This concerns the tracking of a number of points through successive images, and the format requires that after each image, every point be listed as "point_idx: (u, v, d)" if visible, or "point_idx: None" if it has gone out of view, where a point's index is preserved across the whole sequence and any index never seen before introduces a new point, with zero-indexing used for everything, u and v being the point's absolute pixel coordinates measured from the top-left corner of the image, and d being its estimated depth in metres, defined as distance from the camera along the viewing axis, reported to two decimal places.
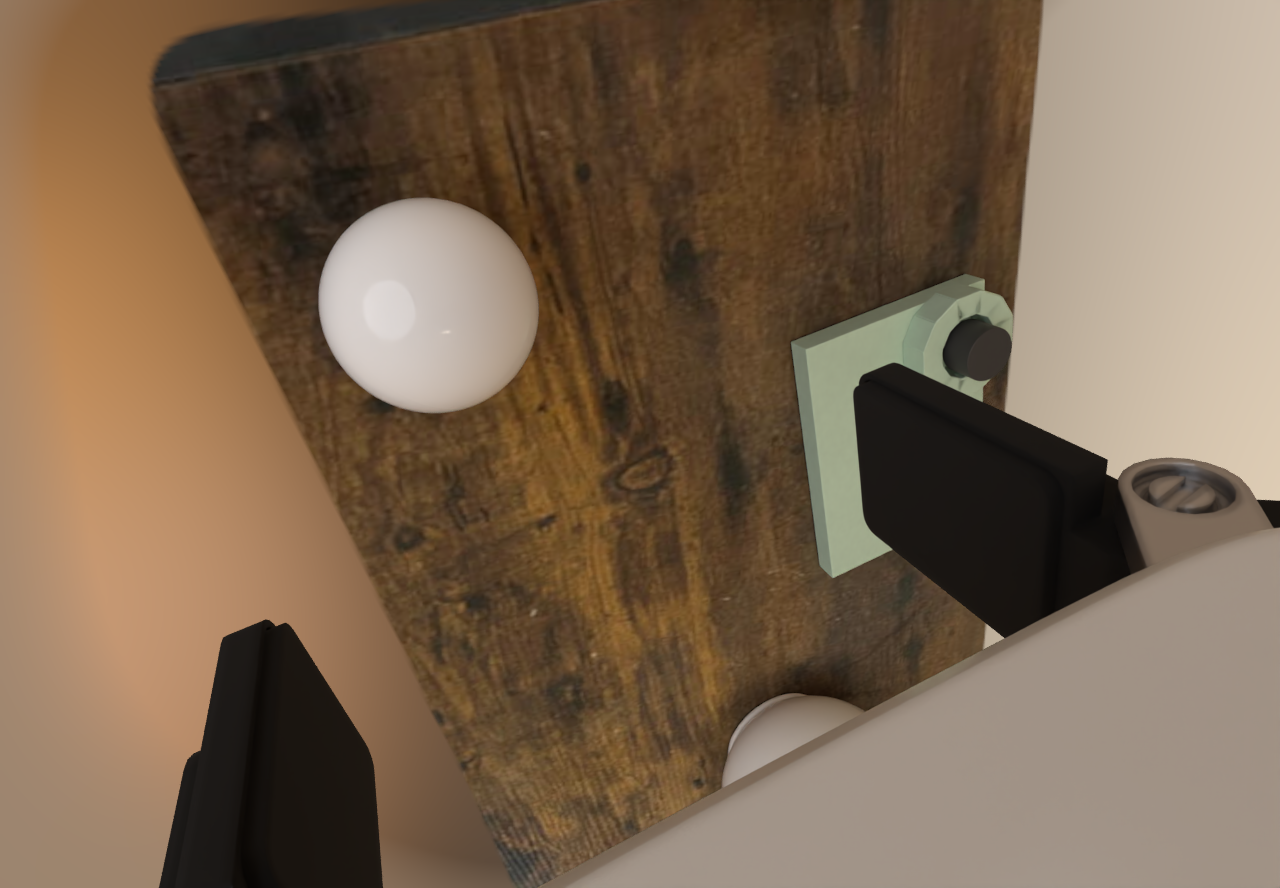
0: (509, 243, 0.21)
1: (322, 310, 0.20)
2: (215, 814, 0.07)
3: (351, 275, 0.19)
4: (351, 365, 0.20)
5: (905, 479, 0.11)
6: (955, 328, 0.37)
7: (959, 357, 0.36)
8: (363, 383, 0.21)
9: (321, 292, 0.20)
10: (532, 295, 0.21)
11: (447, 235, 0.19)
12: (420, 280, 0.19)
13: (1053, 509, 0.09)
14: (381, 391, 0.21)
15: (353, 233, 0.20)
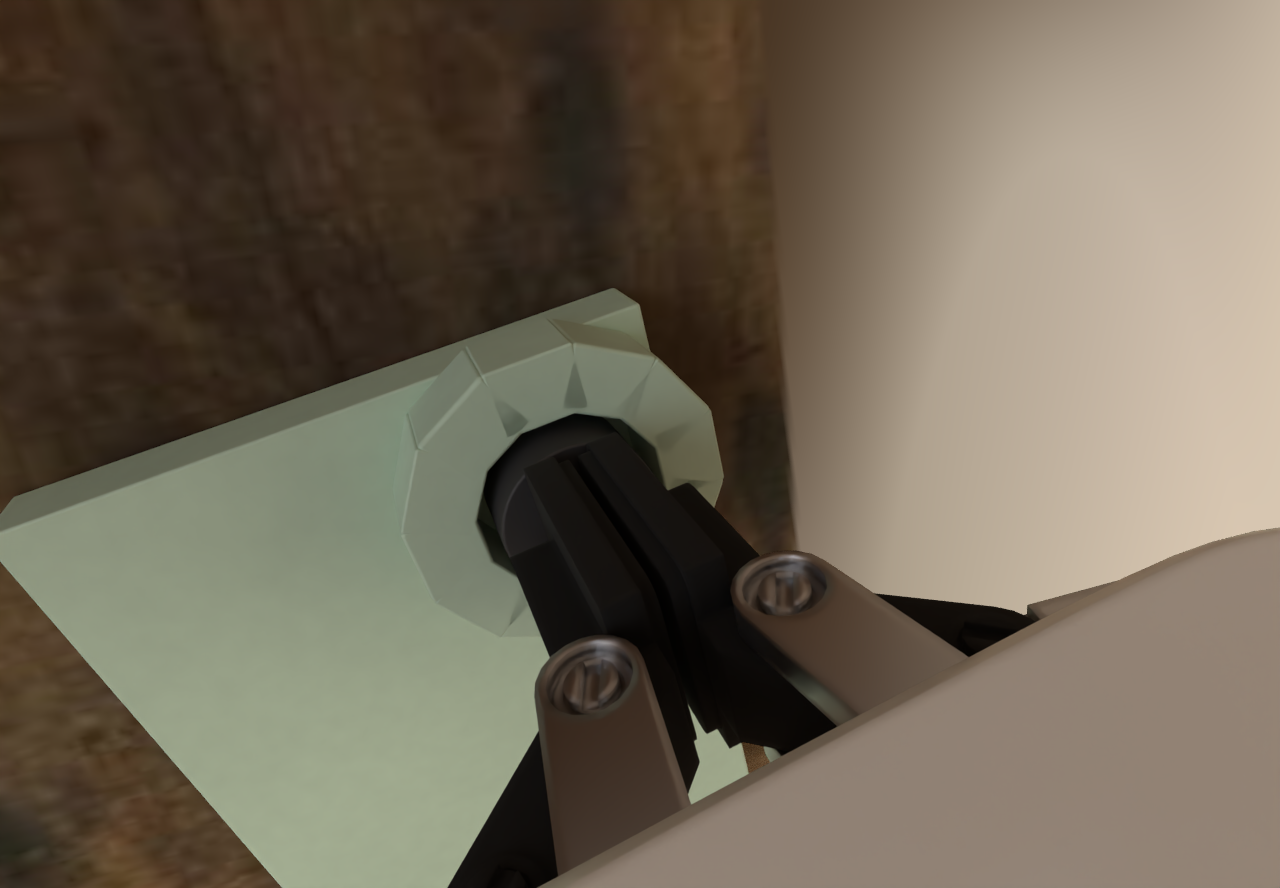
0: None
1: None
2: (598, 559, 0.09)
3: None
4: None
5: None
6: None
7: (496, 525, 0.12)
8: None
9: None
10: None
11: None
12: None
13: (680, 600, 0.09)
14: None
15: None
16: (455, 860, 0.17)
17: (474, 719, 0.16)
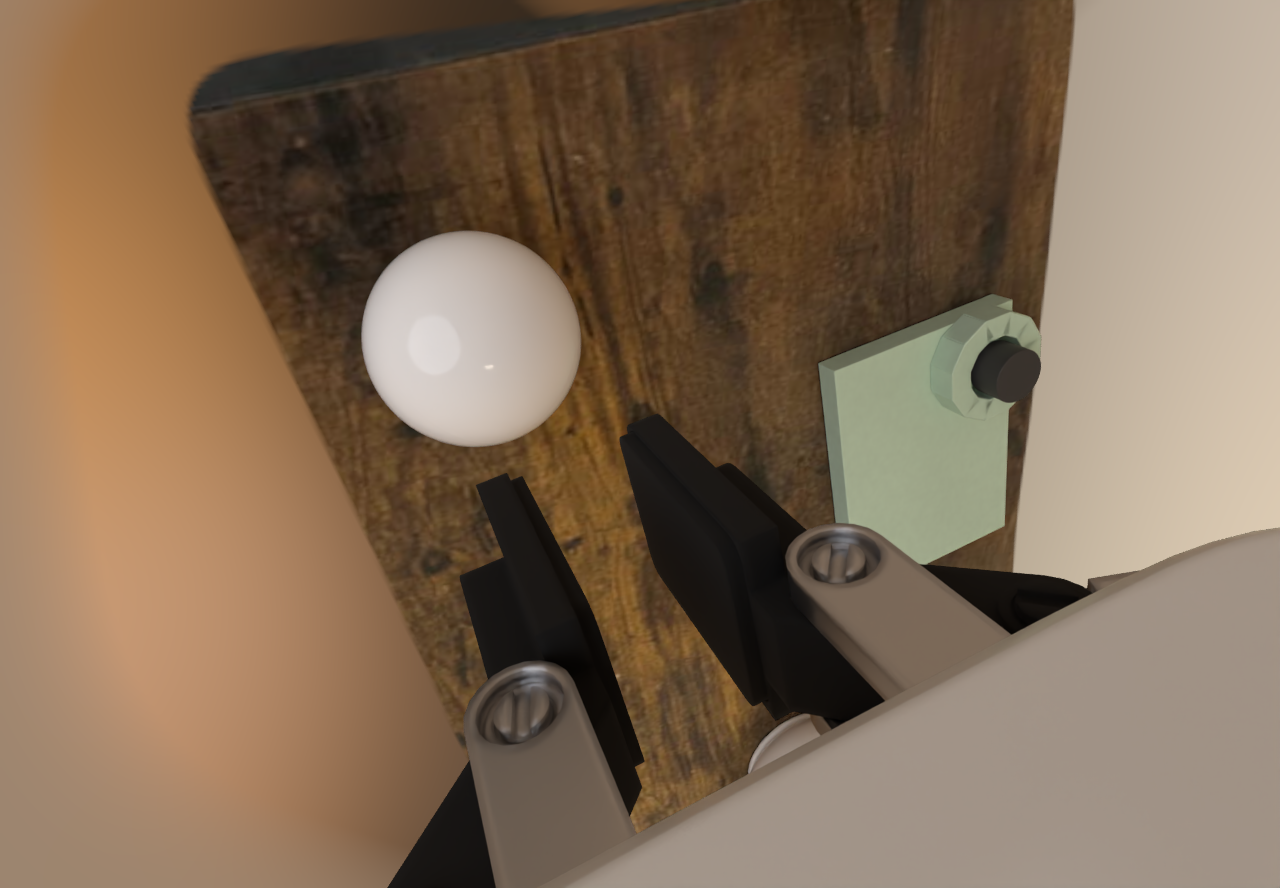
0: (554, 277, 0.21)
1: (366, 346, 0.20)
2: (539, 582, 0.09)
3: (398, 312, 0.19)
4: (396, 401, 0.20)
5: (661, 529, 0.11)
6: (983, 349, 0.37)
7: (988, 379, 0.36)
8: (407, 419, 0.20)
9: (365, 327, 0.20)
10: (576, 330, 0.21)
11: (495, 271, 0.19)
12: (469, 317, 0.19)
13: (733, 572, 0.09)
14: (425, 426, 0.20)
15: (399, 269, 0.20)
16: (900, 532, 0.42)
17: (924, 463, 0.40)
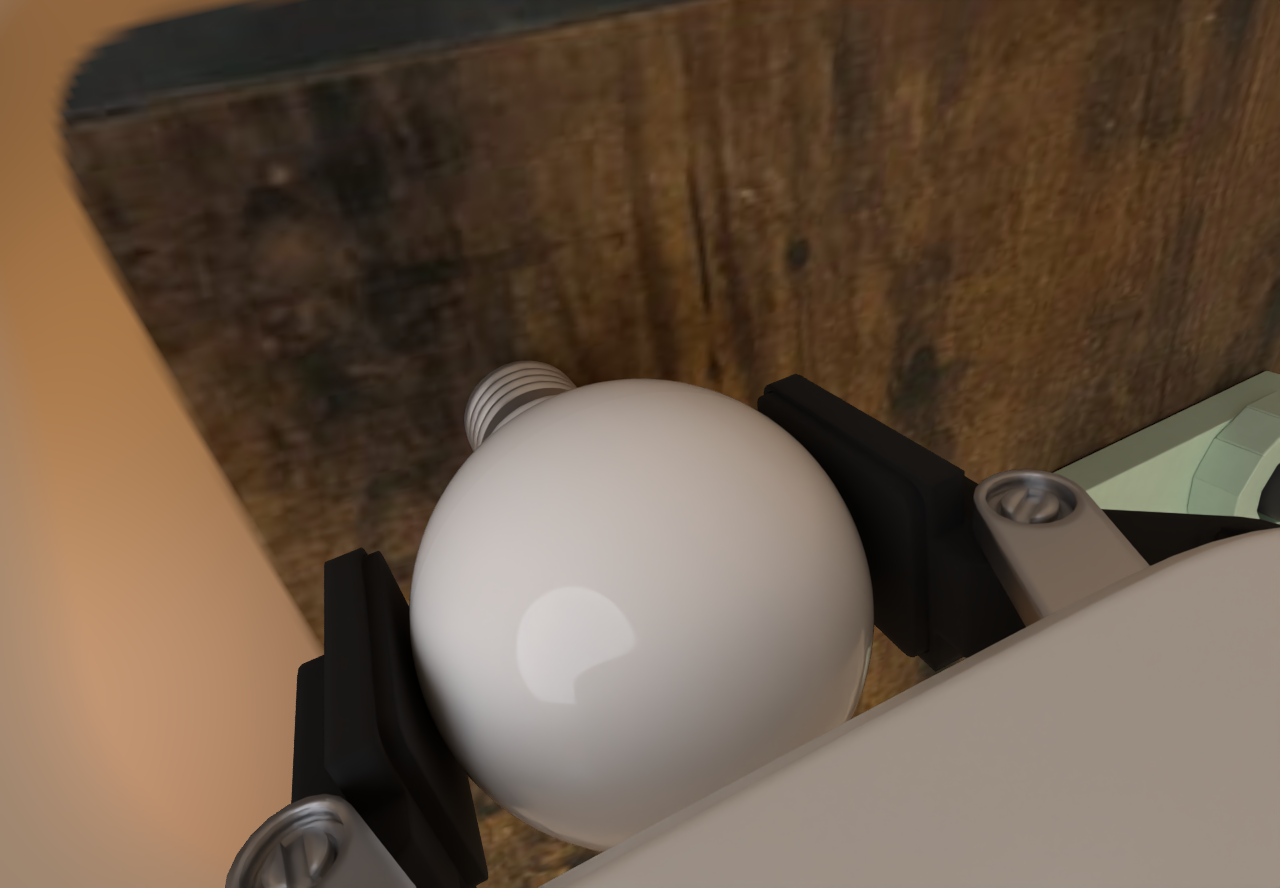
0: (834, 488, 0.09)
1: (427, 670, 0.09)
2: (349, 694, 0.08)
3: (515, 628, 0.08)
4: (495, 796, 0.09)
5: None
6: None
7: None
8: (514, 815, 0.09)
9: (424, 628, 0.09)
10: None
11: (747, 516, 0.08)
12: (699, 652, 0.07)
13: (916, 518, 0.09)
14: (557, 837, 0.09)
15: (507, 500, 0.08)
16: None
17: None
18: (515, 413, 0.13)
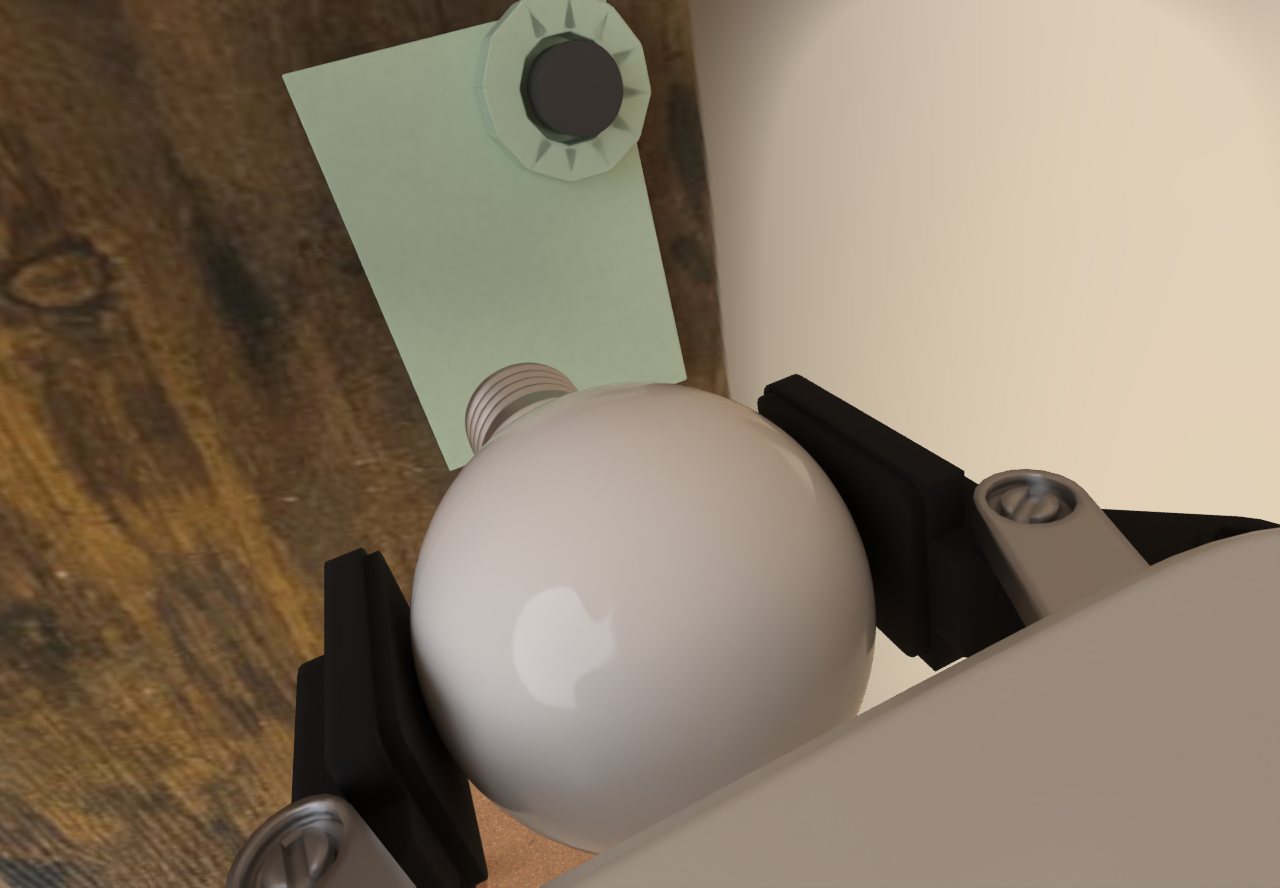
0: (836, 491, 0.09)
1: (428, 675, 0.09)
2: (349, 694, 0.08)
3: (516, 634, 0.08)
4: (497, 800, 0.09)
5: None
6: (539, 55, 0.24)
7: (536, 94, 0.23)
8: None
9: (425, 633, 0.09)
10: None
11: (748, 520, 0.08)
12: (701, 657, 0.07)
13: (916, 518, 0.09)
14: (558, 841, 0.09)
15: (508, 504, 0.08)
16: None
17: (513, 262, 0.28)
18: (516, 415, 0.13)
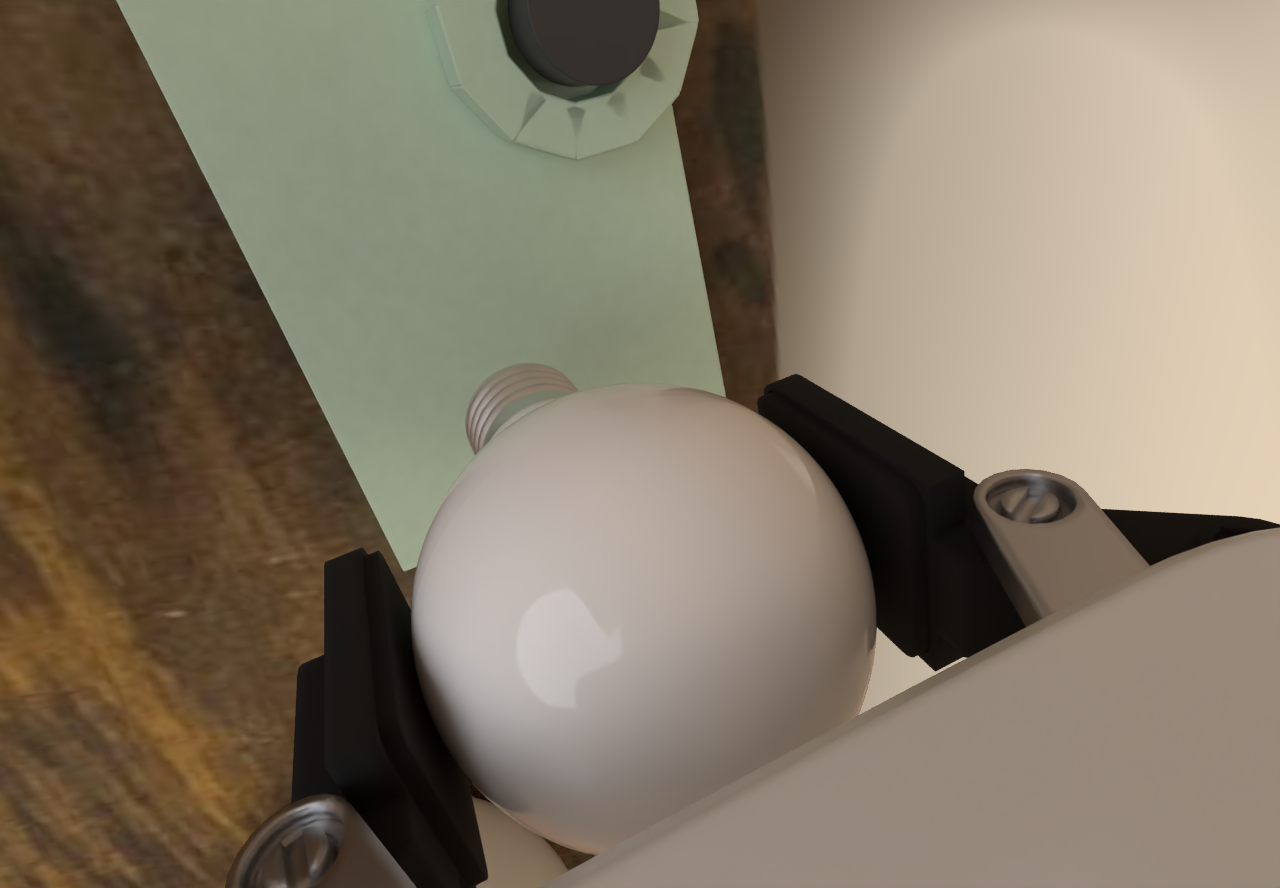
0: (837, 491, 0.09)
1: (429, 675, 0.09)
2: (349, 694, 0.08)
3: (517, 634, 0.08)
4: (497, 801, 0.09)
5: None
6: None
7: (521, 15, 0.14)
8: None
9: (426, 633, 0.09)
10: None
11: (749, 520, 0.08)
12: (702, 659, 0.07)
13: (915, 518, 0.09)
14: (558, 843, 0.09)
15: (509, 506, 0.08)
16: None
17: (490, 279, 0.19)
18: (516, 416, 0.13)
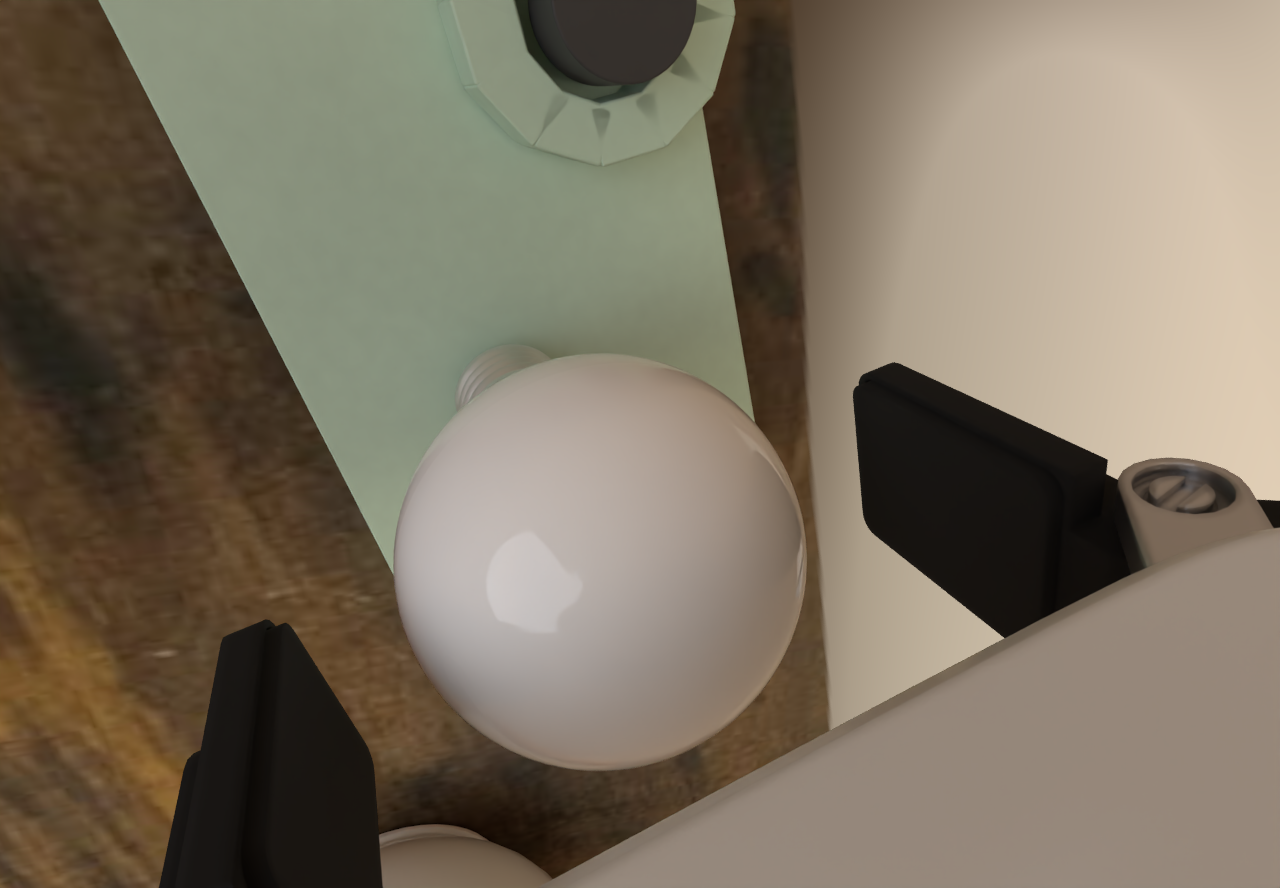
0: (771, 450, 0.11)
1: (406, 603, 0.10)
2: (215, 814, 0.07)
3: (479, 560, 0.09)
4: (466, 715, 0.10)
5: (905, 479, 0.11)
6: None
7: (543, 6, 0.13)
8: (484, 735, 0.10)
9: (404, 567, 0.10)
10: (805, 544, 0.11)
11: (681, 466, 0.09)
12: (635, 581, 0.09)
13: (1053, 509, 0.09)
14: (520, 754, 0.10)
15: (475, 454, 0.09)
16: None
17: (505, 295, 0.17)
18: None
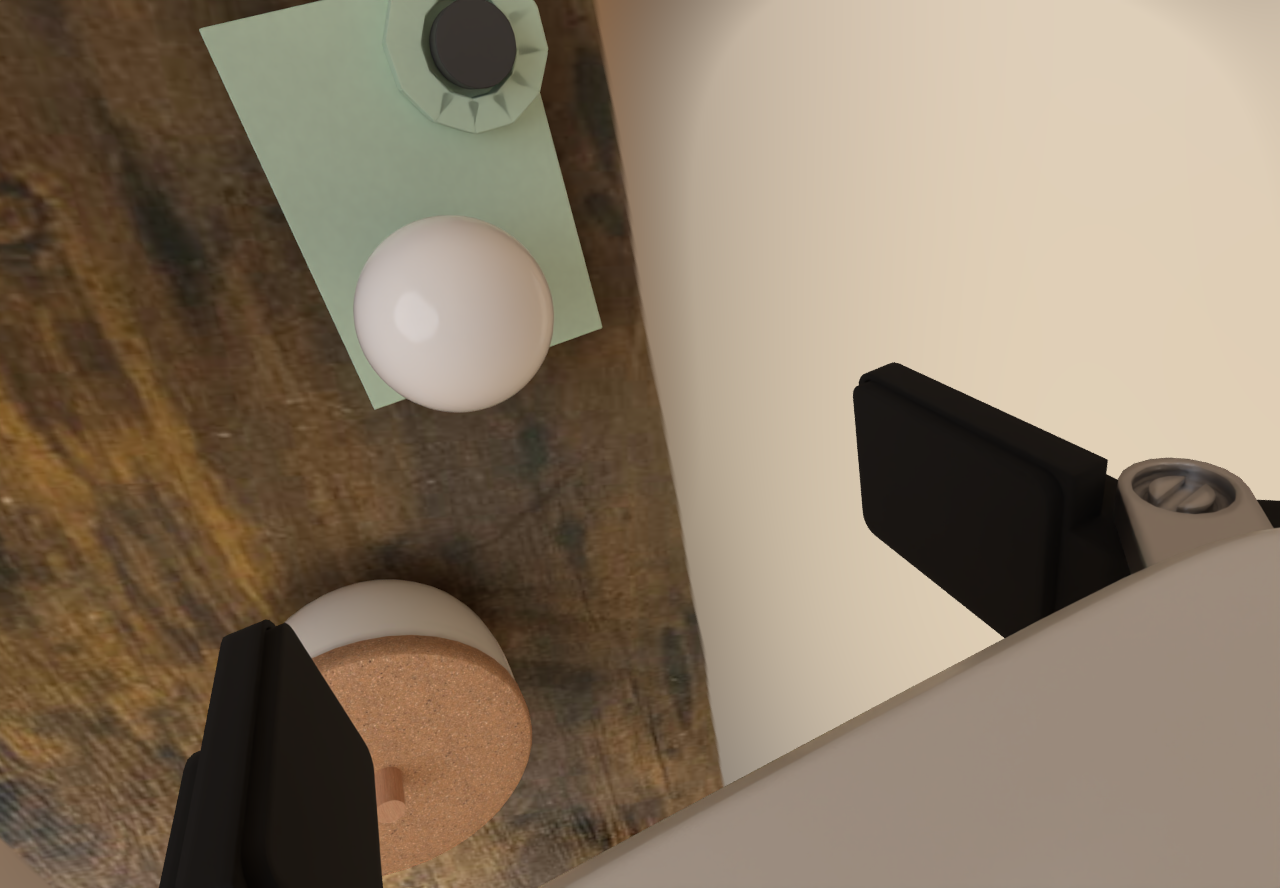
0: (528, 257, 0.23)
1: (357, 318, 0.22)
2: (215, 814, 0.07)
3: (385, 286, 0.21)
4: (384, 368, 0.22)
5: (905, 479, 0.11)
6: (439, 13, 0.26)
7: (434, 48, 0.25)
8: (394, 384, 0.23)
9: (357, 301, 0.22)
10: (548, 305, 0.23)
11: (472, 250, 0.21)
12: (448, 291, 0.21)
13: (1053, 509, 0.09)
14: (410, 391, 0.23)
15: (387, 248, 0.22)
16: None
17: (427, 211, 0.30)
18: None
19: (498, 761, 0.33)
